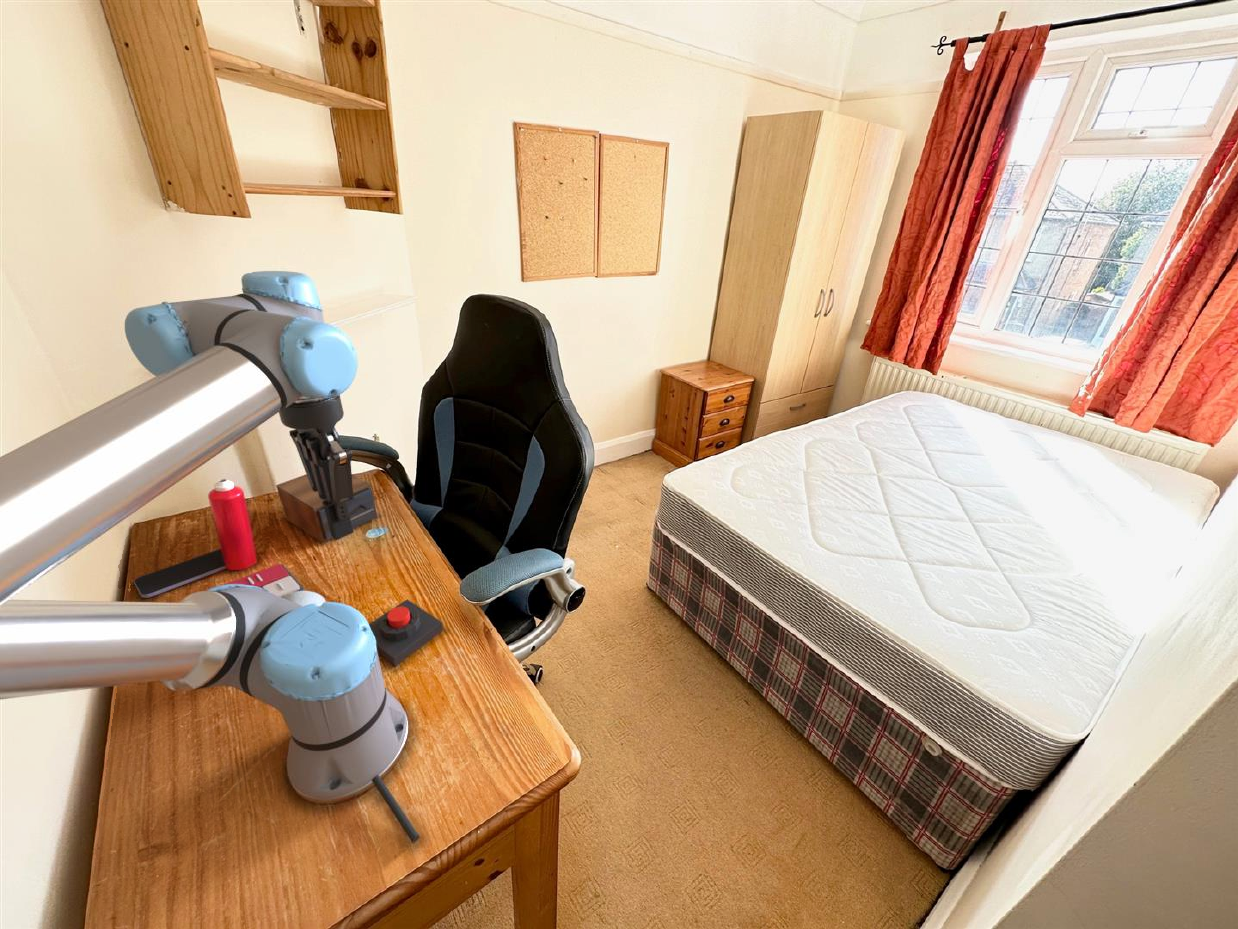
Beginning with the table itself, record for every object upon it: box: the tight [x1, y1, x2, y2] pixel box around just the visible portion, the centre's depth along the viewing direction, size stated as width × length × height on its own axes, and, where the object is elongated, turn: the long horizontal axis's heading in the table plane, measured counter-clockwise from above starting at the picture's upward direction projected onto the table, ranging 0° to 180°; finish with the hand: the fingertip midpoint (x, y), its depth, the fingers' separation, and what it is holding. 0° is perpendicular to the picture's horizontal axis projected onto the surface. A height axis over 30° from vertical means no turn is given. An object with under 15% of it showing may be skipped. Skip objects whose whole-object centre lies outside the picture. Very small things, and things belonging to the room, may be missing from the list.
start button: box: [387, 606, 410, 628], centre depth 86 cm, size 4×4×2 cm
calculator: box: [223, 563, 305, 598], centre depth 90 cm, size 11×4×15 cm
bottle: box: [207, 478, 258, 571], centre depth 97 cm, size 5×5×20 cm
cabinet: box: [275, 473, 377, 544], centre depth 116 cm, size 16×14×10 cm
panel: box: [369, 598, 444, 668], centre depth 87 cm, size 10×10×4 cm
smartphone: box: [133, 548, 228, 599], centre depth 98 cm, size 7×1×15 cm
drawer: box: [317, 488, 378, 541], centre depth 114 cm, size 19×12×8 cm, turn 58°
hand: (342, 534), depth 76 cm, fingers closed
